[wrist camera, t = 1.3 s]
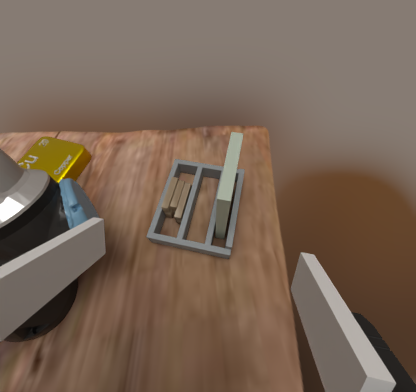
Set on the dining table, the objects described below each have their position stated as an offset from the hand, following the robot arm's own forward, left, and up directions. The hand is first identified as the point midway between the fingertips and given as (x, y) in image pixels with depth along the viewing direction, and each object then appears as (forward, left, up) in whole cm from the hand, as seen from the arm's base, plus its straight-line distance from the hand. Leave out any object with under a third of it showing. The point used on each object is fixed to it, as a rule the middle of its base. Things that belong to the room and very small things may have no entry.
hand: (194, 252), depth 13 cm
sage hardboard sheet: (+1, +16, -32) cm, 36 cm away
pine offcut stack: (-11, +16, -32) cm, 37 cm away
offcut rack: (-6, +16, -32) cm, 36 cm away
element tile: (-48, +20, -32) cm, 61 cm away
